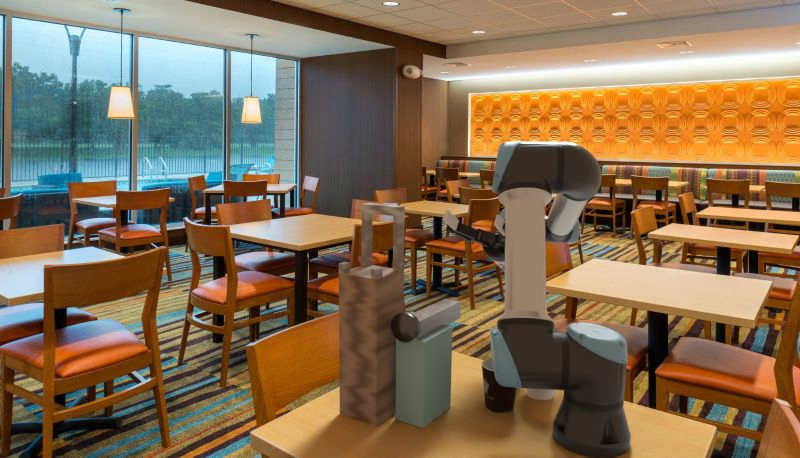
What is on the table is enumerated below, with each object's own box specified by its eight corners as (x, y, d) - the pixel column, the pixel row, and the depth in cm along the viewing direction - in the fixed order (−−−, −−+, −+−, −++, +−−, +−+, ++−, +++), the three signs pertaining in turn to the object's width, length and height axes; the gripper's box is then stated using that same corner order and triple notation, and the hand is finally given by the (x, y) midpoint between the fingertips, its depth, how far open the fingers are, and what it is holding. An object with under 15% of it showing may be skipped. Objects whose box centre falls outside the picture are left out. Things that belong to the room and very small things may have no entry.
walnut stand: (402, 408, 134) (404, 206, 126) (376, 426, 125) (377, 211, 118) (366, 397, 139) (367, 202, 132) (339, 413, 131) (338, 207, 123)
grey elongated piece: (464, 318, 137) (465, 293, 136) (415, 345, 120) (415, 316, 119) (441, 314, 141) (442, 289, 140) (390, 339, 123) (390, 311, 122)
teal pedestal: (450, 406, 135) (452, 326, 132) (422, 428, 125) (424, 342, 122) (424, 398, 139) (425, 320, 135) (395, 418, 129) (396, 335, 126)
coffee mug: (518, 416, 130) (520, 373, 129) (479, 412, 132) (480, 370, 130) (518, 394, 141) (520, 354, 140) (482, 390, 143) (483, 351, 141)
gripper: (542, 268, 151) (515, 237, 134) (455, 256, 164) (421, 226, 147) (549, 240, 153) (523, 207, 136) (462, 231, 166) (430, 199, 149)
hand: (470, 217), depth 141 cm, fingers open, 13 cm apart
